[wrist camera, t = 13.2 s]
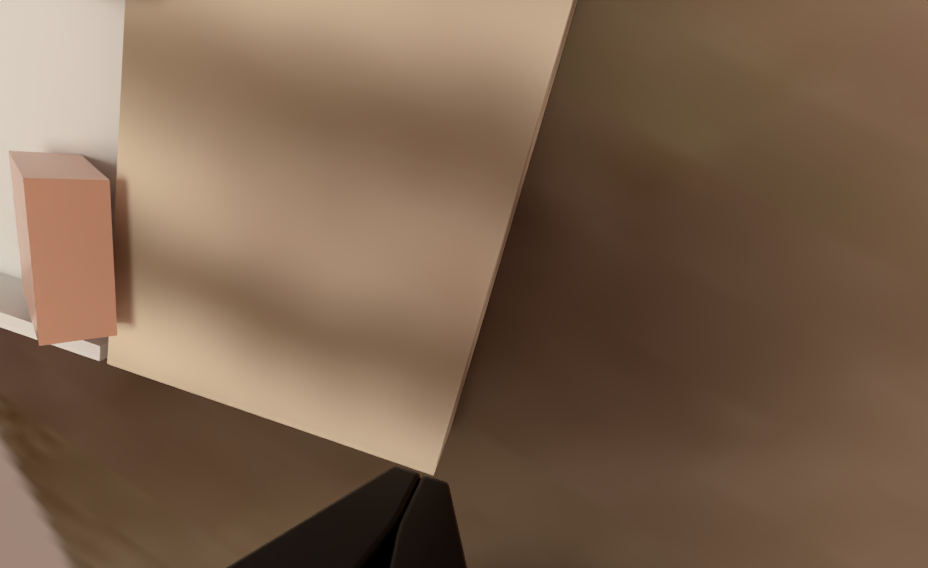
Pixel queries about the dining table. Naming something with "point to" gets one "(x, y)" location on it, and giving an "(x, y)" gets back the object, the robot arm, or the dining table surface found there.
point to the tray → (56, 115)
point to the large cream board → (323, 202)
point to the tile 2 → (64, 245)
